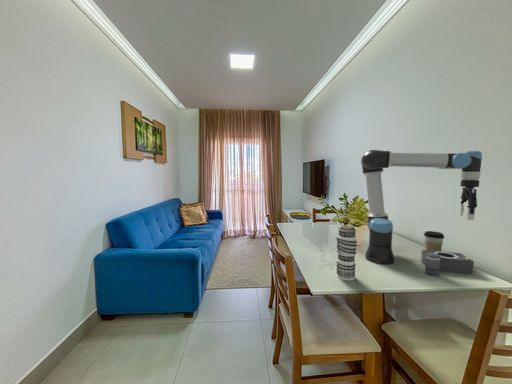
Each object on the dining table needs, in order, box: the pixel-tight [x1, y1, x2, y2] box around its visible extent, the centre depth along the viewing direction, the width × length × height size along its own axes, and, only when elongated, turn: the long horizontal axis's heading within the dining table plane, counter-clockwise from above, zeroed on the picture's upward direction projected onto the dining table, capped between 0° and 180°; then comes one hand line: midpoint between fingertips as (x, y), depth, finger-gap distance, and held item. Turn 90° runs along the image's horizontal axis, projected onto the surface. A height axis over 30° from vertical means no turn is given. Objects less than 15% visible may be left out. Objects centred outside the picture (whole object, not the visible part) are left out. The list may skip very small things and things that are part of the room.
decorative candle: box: [335, 224, 358, 282], centre depth 112 cm, size 9×9×25 cm
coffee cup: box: [423, 230, 445, 252], centre depth 138 cm, size 10×10×15 cm
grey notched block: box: [420, 249, 475, 275], centre depth 123 cm, size 18×12×8 cm, turn 72°
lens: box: [424, 253, 440, 277], centre depth 115 cm, size 6×6×10 cm
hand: (466, 217), depth 129 cm, fingers open, 13 cm apart
